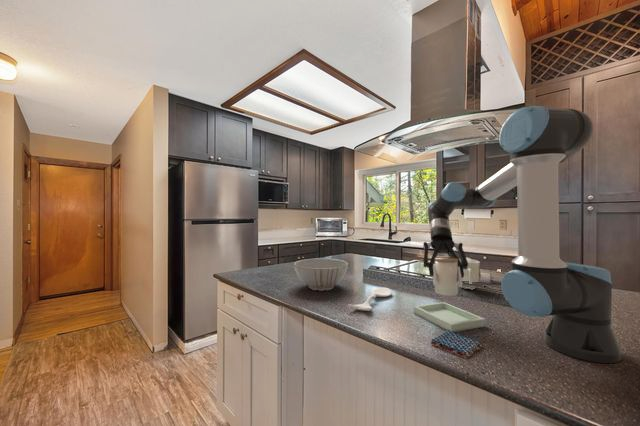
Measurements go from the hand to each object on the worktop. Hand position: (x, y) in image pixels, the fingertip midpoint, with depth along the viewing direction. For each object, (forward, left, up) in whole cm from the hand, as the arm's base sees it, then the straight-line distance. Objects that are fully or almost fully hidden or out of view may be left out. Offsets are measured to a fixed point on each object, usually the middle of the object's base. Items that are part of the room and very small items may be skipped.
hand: (447, 284), depth 95 cm
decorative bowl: (+56, +25, -13) cm, 63 cm away
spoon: (+28, +13, -13) cm, 33 cm away
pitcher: (+28, -40, -13) cm, 51 cm away
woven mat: (-13, +10, -14) cm, 22 cm away
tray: (+2, -2, -13) cm, 13 cm away
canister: (+3, -2, -4) cm, 5 cm away
